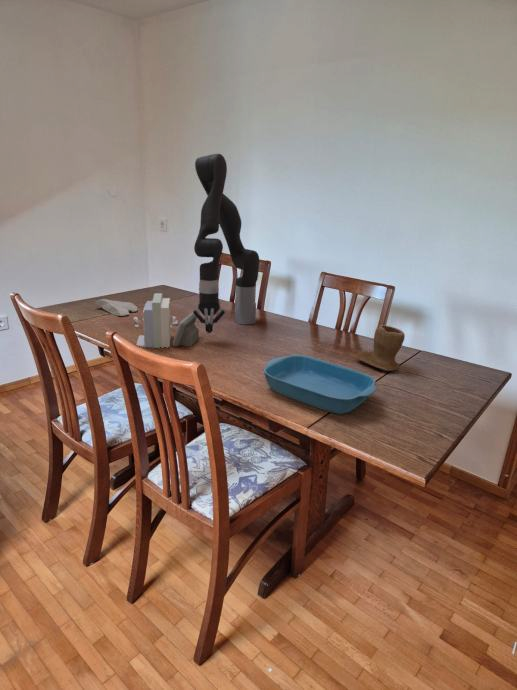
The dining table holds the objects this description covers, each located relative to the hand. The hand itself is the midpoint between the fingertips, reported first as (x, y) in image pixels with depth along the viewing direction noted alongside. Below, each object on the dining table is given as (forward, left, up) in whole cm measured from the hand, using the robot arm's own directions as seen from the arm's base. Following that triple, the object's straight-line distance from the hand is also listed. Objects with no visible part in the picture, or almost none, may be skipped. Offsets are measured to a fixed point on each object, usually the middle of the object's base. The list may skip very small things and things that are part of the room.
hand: (209, 332), depth 181 cm
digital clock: (+10, 0, -4) cm, 10 cm away
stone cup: (-62, +27, -4) cm, 68 cm away
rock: (+41, -44, -4) cm, 61 cm away
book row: (+22, -1, -4) cm, 22 cm away
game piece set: (+22, -24, -5) cm, 33 cm away
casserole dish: (-32, +48, -4) cm, 58 cm away
